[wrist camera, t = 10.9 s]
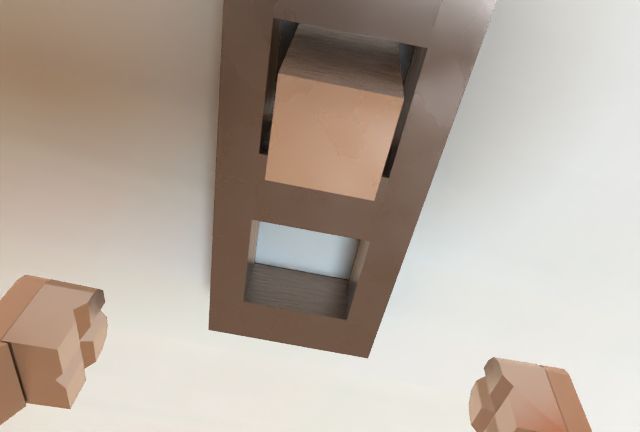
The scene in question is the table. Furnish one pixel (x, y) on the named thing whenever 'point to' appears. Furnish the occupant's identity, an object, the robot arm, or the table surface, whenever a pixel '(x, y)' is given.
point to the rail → (319, 206)
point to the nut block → (335, 112)
